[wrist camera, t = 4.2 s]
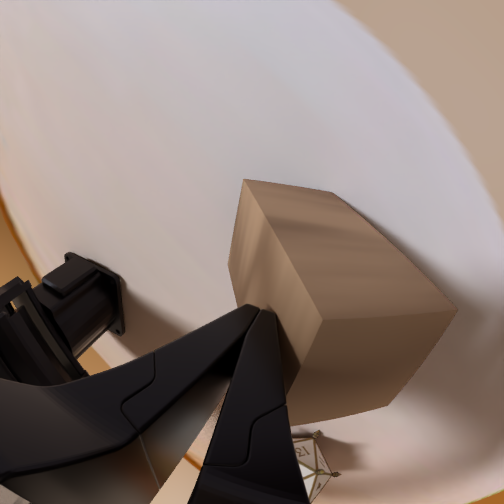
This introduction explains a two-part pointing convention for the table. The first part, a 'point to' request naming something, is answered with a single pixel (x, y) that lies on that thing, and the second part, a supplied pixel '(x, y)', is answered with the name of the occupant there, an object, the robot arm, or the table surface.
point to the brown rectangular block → (333, 299)
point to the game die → (312, 465)
